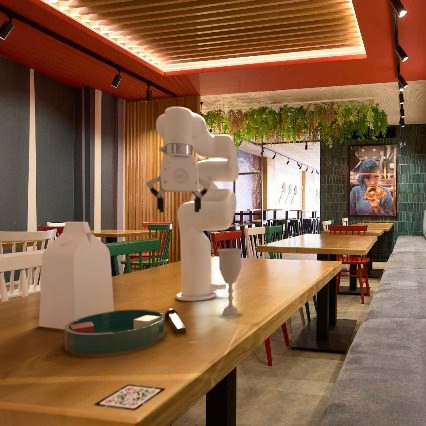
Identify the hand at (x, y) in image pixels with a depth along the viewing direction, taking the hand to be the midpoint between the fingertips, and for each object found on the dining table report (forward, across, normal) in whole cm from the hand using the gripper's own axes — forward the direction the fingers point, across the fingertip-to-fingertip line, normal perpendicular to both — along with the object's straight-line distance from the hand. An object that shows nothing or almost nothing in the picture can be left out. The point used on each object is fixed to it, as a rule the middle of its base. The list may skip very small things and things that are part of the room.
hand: (179, 212), depth 113 cm
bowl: (+28, -17, -20) cm, 38 cm away
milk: (+28, -25, 0) cm, 38 cm away
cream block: (+28, -11, -21) cm, 37 cm away
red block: (+28, -24, -20) cm, 42 cm away
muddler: (+27, -4, -9) cm, 28 cm away
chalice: (+28, +11, -12) cm, 33 cm away
